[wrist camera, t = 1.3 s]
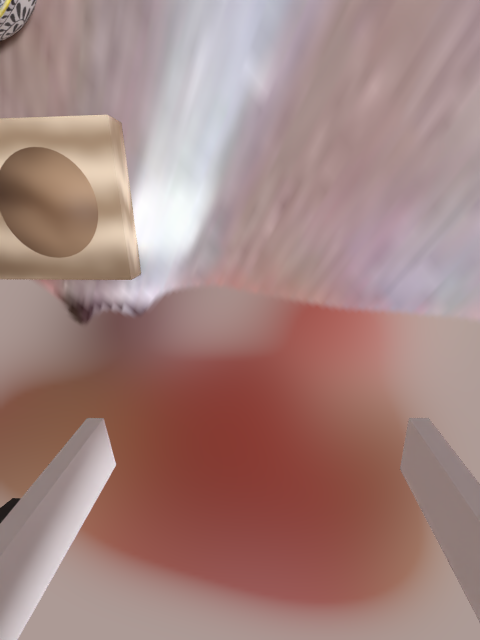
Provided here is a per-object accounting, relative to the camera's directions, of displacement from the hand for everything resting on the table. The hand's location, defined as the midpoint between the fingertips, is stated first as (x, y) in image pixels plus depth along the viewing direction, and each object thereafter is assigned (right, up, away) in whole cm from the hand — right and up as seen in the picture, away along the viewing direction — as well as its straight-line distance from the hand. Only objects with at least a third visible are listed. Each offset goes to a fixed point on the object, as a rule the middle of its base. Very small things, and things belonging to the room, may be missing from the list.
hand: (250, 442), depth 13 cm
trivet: (-21, +19, +22) cm, 35 cm away
